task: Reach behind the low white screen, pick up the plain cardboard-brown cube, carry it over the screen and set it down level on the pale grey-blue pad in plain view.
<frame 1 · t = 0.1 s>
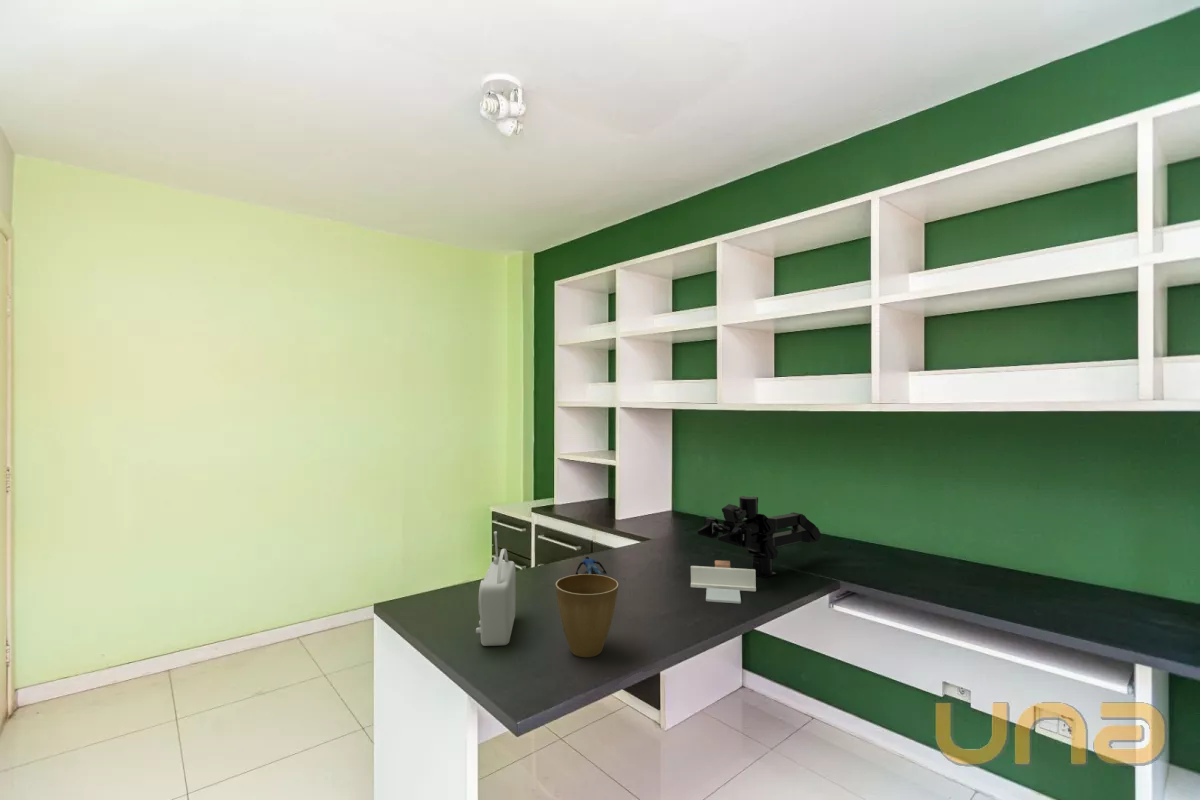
hand: (707, 535, 172), 17 cm above the table, tool horizontal, fingers open, 9 cm apart
person figurine: (592, 578, 184), on the table
white screen: (722, 587, 173), on the table
plain cardboard-brown cube: (722, 577, 182), on the table
plant pot: (587, 651, 129), on the table
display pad: (723, 596, 164), on the table
radio: (496, 632, 140), on the table
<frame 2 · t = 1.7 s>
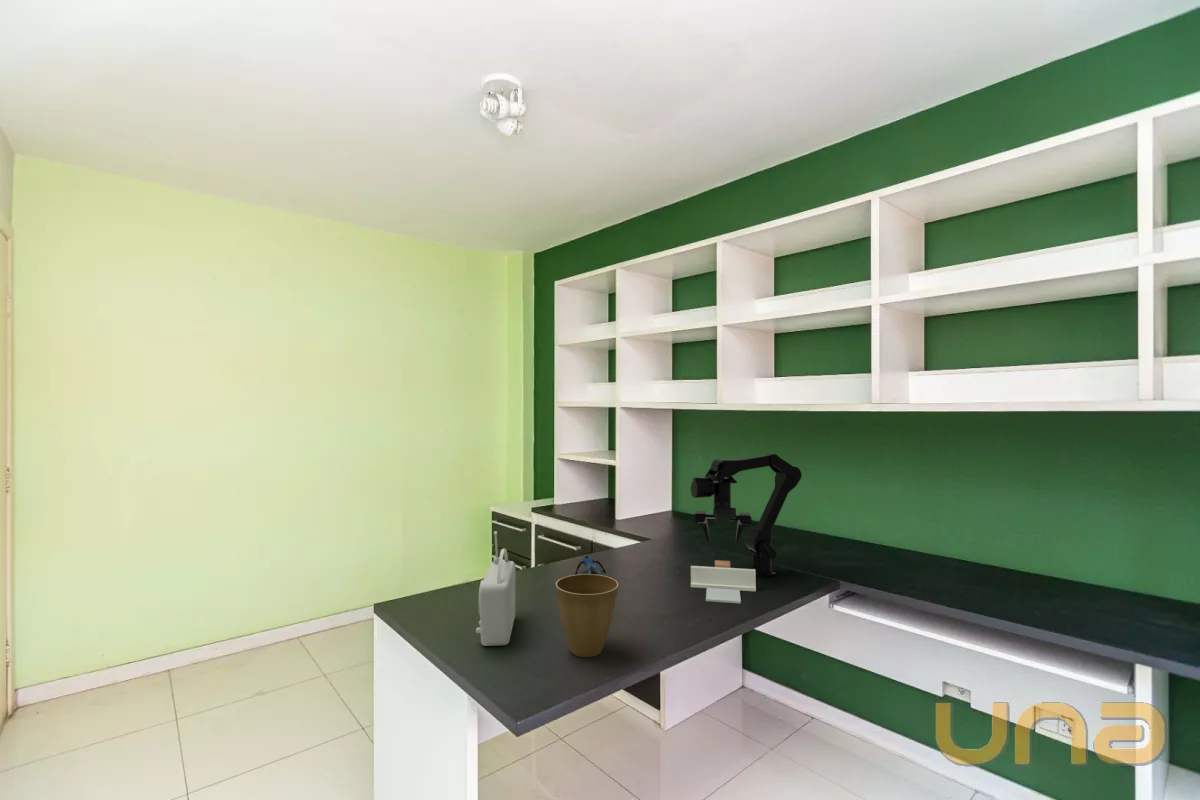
hand: (722, 543, 182), 11 cm above the table, tool pointing down, fingers open, 9 cm apart
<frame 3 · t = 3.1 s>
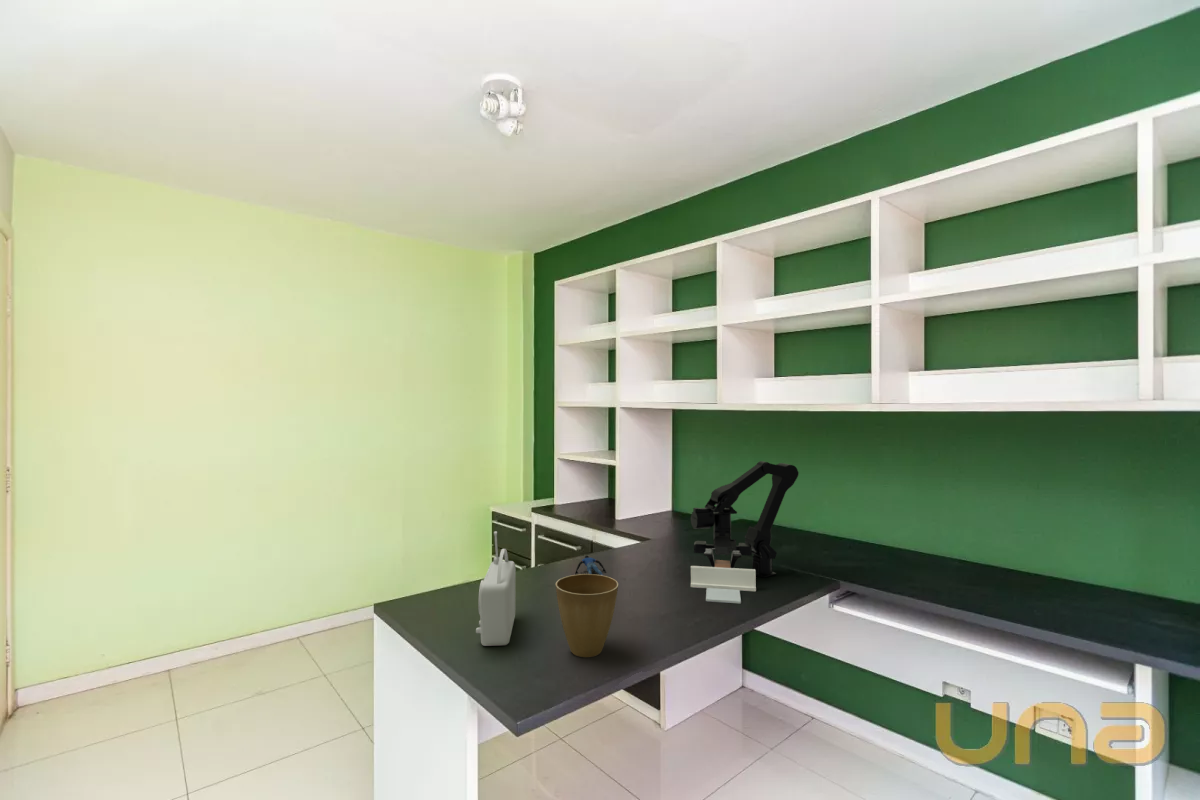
hand: (722, 573, 182), 1 cm above the table, tool pointing down, fingers closed on plain cardboard-brown cube, 5 cm apart
plain cardboard-brown cube: (722, 577, 182), on the table, touching gripper
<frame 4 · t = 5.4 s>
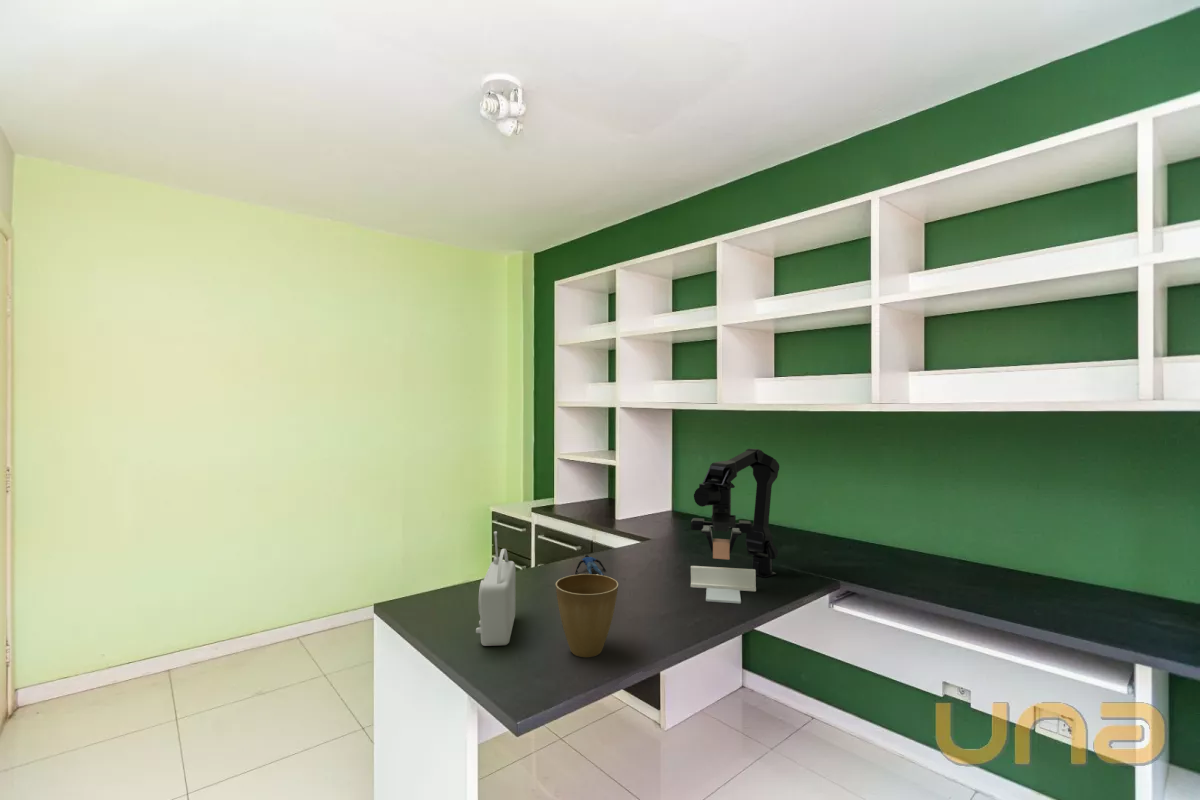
hand: (721, 553, 170), 11 cm above the table, tool pointing down, fingers closed on plain cardboard-brown cube, 5 cm apart
plain cardboard-brown cube: (721, 556, 170), point 10 cm above the table, touching gripper
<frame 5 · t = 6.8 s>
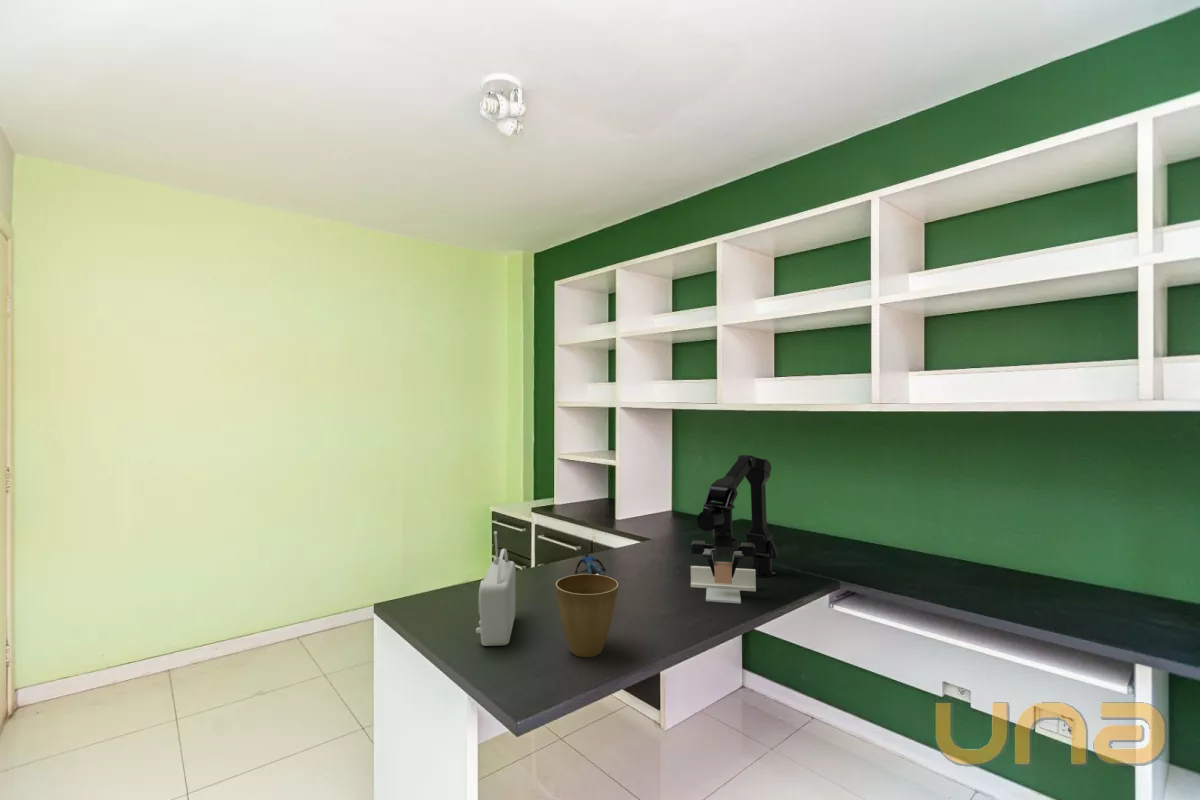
hand: (723, 576, 164), 6 cm above the table, tool pointing down, fingers closed on plain cardboard-brown cube, 5 cm apart
plain cardboard-brown cube: (723, 580, 164), point 5 cm above the table, touching gripper
when the fingers open (3 cm above the table, at t = 7.7 s): plain cardboard-brown cube drops 1 cm, resting on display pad.
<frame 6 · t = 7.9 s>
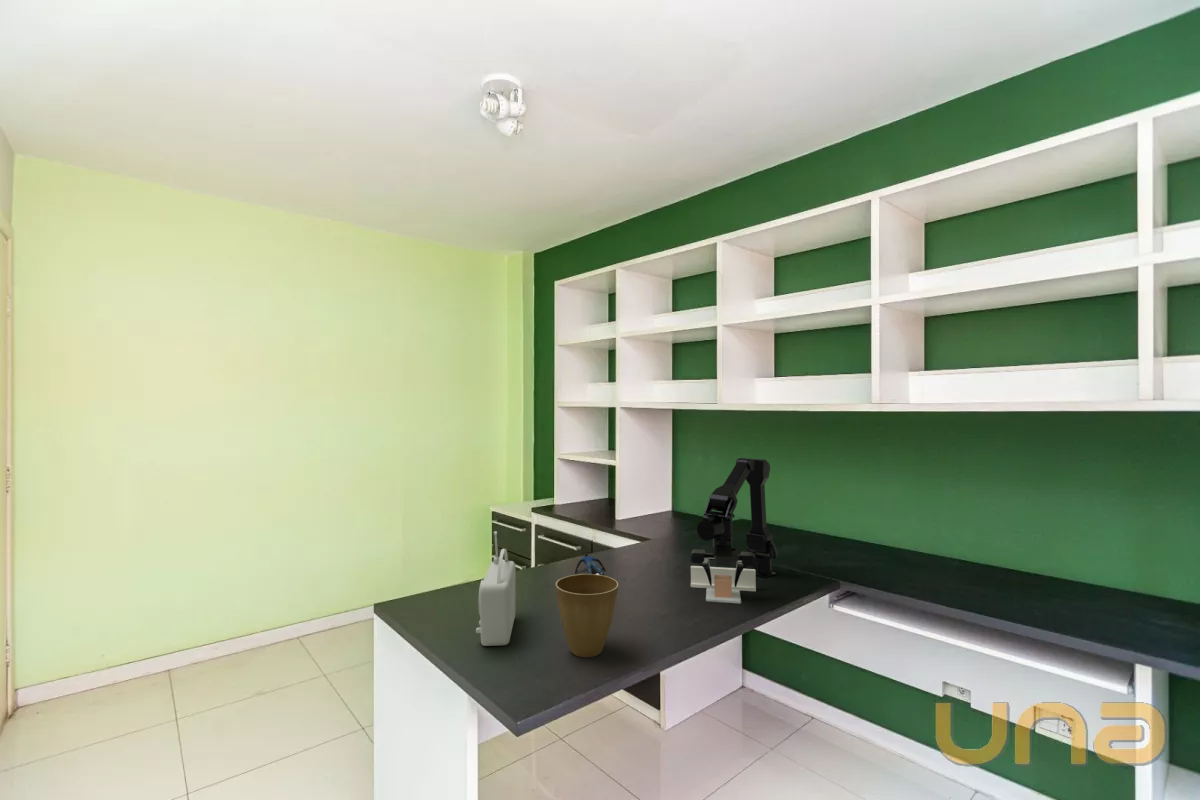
hand: (723, 585, 164), 3 cm above the table, tool pointing down, fingers open, 7 cm apart
plain cardboard-brown cube: (723, 594, 164), point 1 cm above the table, touching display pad
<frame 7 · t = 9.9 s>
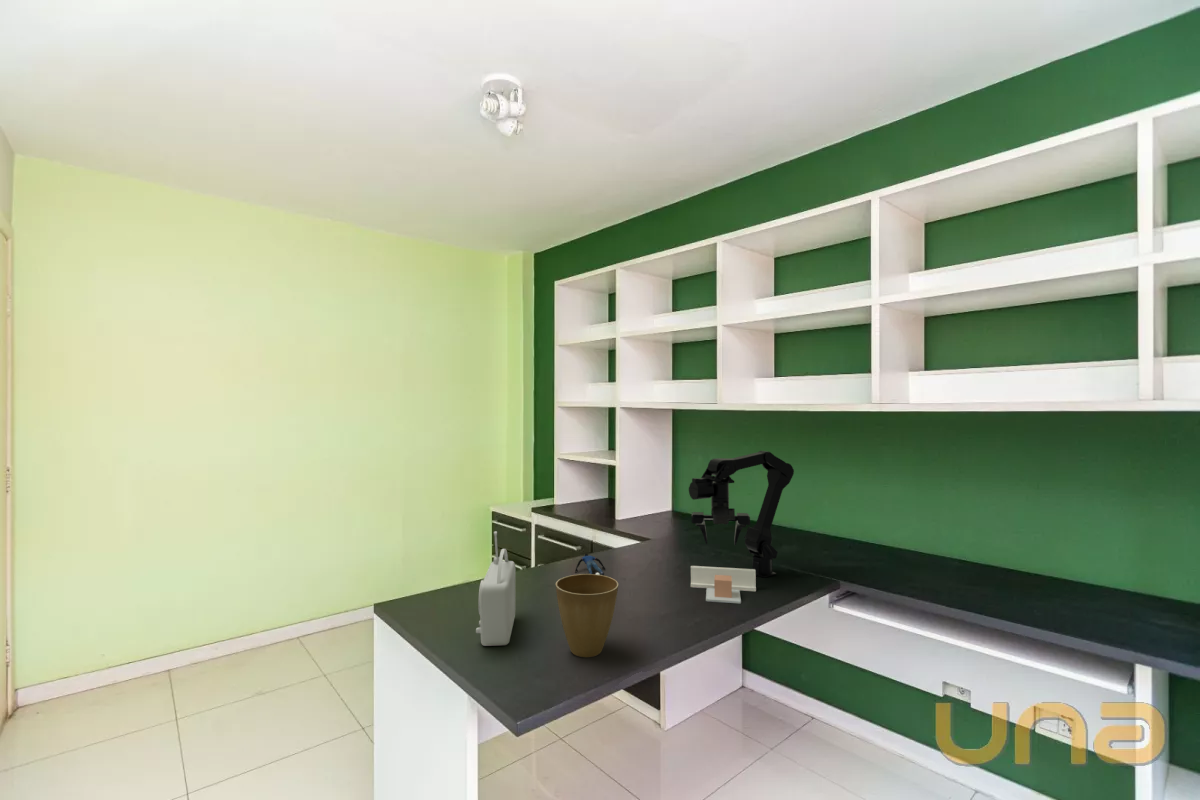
hand: (720, 544, 180), 12 cm above the table, tool pointing down, fingers open, 9 cm apart
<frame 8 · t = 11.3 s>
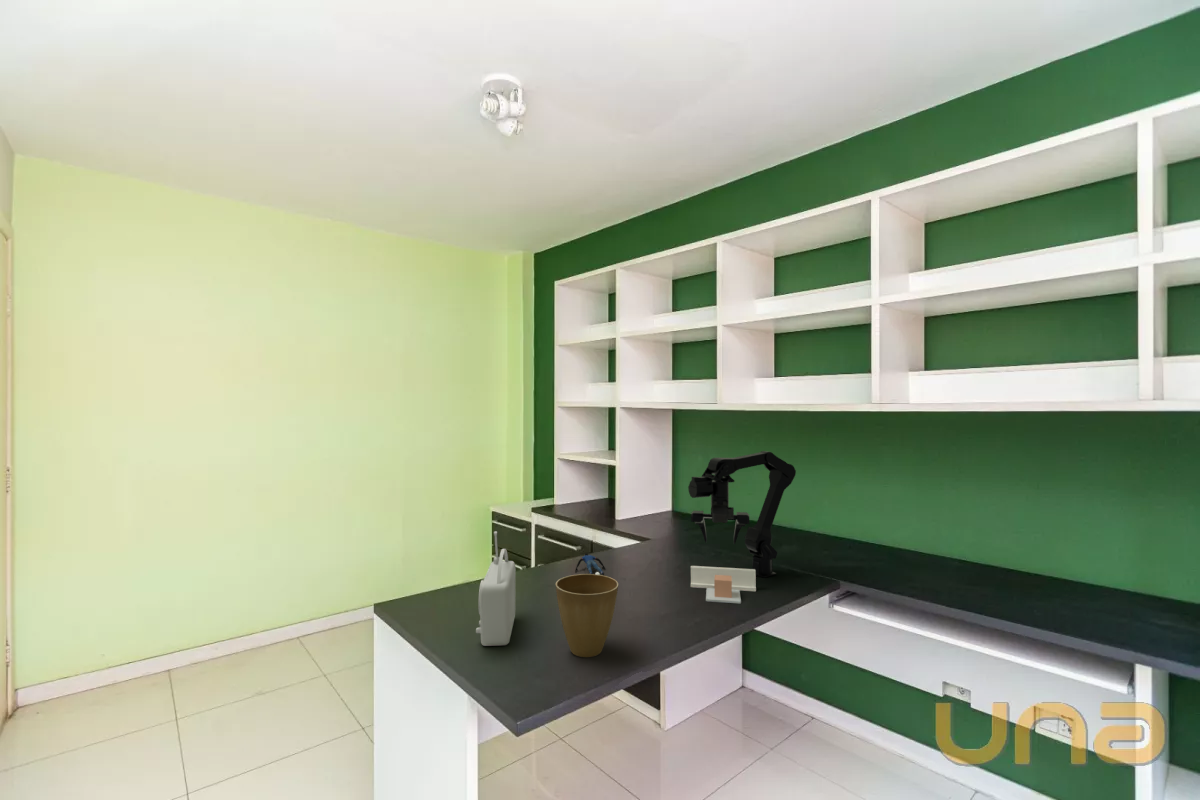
hand: (720, 543, 180), 12 cm above the table, tool pointing down, fingers open, 9 cm apart
at the end: plain cardboard-brown cube inside the target area on the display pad (0.1 cm from its centre), point 0.6 cm above the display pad's base; plain cardboard-brown cube tilted 0°; the gripper is holding nothing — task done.
